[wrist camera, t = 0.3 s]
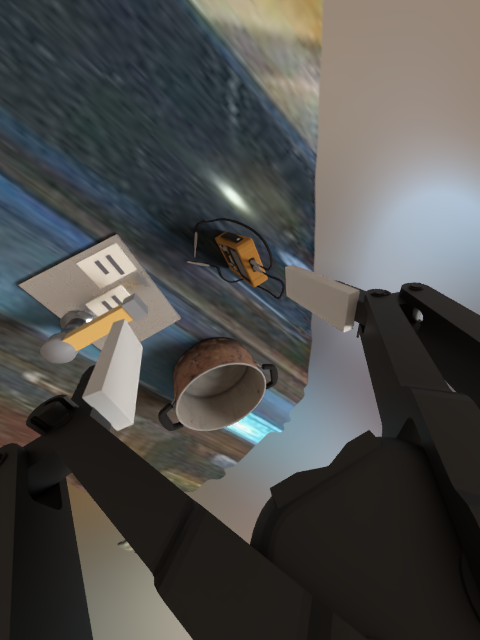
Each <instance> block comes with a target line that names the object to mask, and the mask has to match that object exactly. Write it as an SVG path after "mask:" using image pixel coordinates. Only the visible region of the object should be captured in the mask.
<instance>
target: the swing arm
mask: <svg viewBox="0 0 480 640" xmlns="http://www.w3.org/2000/svg"><path fill="white" fill-rule="evenodd" d="M147 315H148V307H147V306H146V304H145V303H144V302H143V301H142V300H141V299H140V297H139V296H138V295H137V294H136V293H134V294H132V295H130V296H128V297H126V298H125V299H124V300H123V303H122V304H120V305H118V306H117V307H115V308H113V309H111V310H109V311H107V312H106V313H104V314H102V315H100V316H98V317H97V318H95V319H93V320H91V321H89V322H87V323H86V324H84V325H82V326H80V327H78V328H77V329H75V330H73V331H71V332H69V333H57V334H54V335H52V336H51V337H50V338H49V339H48V340H47V342H46V343H45V344H44V345H43V346H42V347H41V350H40V353H41V355H42V357H43V358H44V359H46V360H47V361H50V362H53V363H66V362H69V361H71V360H73V359H74V358H75V356H76V354H77V353H78V351H79V350H80V349H82V348H84V347H85V346H87V345H89V344H91V343H93V342H94V341H96V340H98V339H100V338H101V337H103V336H105V335H107V334H109V332H110V330H111V327H112V325H113V322H116V321H119V320H122V319H125V320H126V321H127V323H128V322H130V321H132V320H135V321H138V320H140V319H142V318H144V317H145V316H147Z"/></svg>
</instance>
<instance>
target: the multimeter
mask: <svg viewBox="0 0 480 640" xmlns="http://www.w3.org/2000/svg"><path fill="white" fill-rule="evenodd" d="M218 220H225V221H231V222H234V223H237V224H240V225H242V226H244V227H246V228H248V229H249V230H251V231H252V232H254V233H255V234H256V235H257V236H258V237H259V238H260V239H261V240H262V241H263V242H264V244H265V246H266V248H267V250H268V252H269V256H270V261H271V264H270V267H269V268H268V269H267V268H265V267H263V265H262V263H261V260H260V258H259V255H258V253H257V250H256V248H255V245H254V242H253V240H252V239H251V238H248V237H245V236H241V235H238V234H234V233H230V232H226V231H225V232H224V233H222V234H221V235H219V236H217V237H216V238H215V240H216V242H217V244H218V246H219V248H220V250H221V252H222V254H223V256H224V257H225V259H226V261H227V263H228V265H229V267H230V269H231V270H233V271H234V272H235V273H236V274H238V275H239V276H240V277H241V278H243V279H241V280H245V281H246V282H248V283H249V284H250V285H252V286H253V287H256V286H257V287H259V288H261V289H263V290H265V291H267V292H269V293H270V294H271V295H272V296H274V297H275V298H276V299H280V298H281V297H282V295H283V292H284V289H285V286H284V283H283V281H282V280H280V279H278V278H276V277H273V276H270V275H268V274H266V273H265V270H267V271H269V270H270V269H271V268H272V265H273V259H272V255H271V251H270V249H269V247H268V245H267V243H266V241H265V240H264V239H263V238H262V236H261V235H260V234H259V233H257V232H256V231H255V230H254V229H252V228H250V227H249V226H247V225H245V224H243V223H241V222H238V221H235V220H231V219H226V218H220V219H215V220H210V221H204V222H200V223H198V224H197V226H196V232H195V241H194V247H195V254H196V248H197V228H198V225H199V224H201V223H207V222H213V221H218ZM194 256H195V255H194ZM188 263H194V262H188ZM194 264H196V265H202V266H212V267H217V266H213V265H208V264H204V263H198V262H196V263H194ZM217 268H218V269H219V271H220V268H219V267H217ZM264 269H265V270H264ZM220 275H221V271H220ZM267 276H268V277H270V278H273V279H276V280H278V281H280V282H281V283H282V285H283V289H282V292H281V294H280V296H279V297H276V296H275V295H274V294H272V293H271V292H270V291H268V290H266V289H264V288H262V287H260V286H258V285H259V284H261V283H262V282H264V281H266V280H267ZM221 277H222V275H221ZM222 278H223V277H222ZM223 279H224V278H223ZM224 280H225V281H227V280H226V279H224ZM241 280H238V281H241ZM238 281H233V282H230V281H227V282H230V283H234V282H238Z"/></svg>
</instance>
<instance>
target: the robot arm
mask: <svg viewBox="0 0 480 640" xmlns="http://www.w3.org/2000/svg"><path fill="white" fill-rule="evenodd" d="M285 271H286V291H287V296H288V297H289V298H291V299H292V300H294V301H295V302H297V303H298V304H300V305H302V306H303V307H305V308H306V309H308V310H309V311H311V312H312V313H314V314H316V315H317V316H319V317H320V318H322V319H323V320H325V321H326V322H328V323H329V324H331V325H332V326H334V327H336V328H337V329H339V330H340V331H342V332H346V331H349V330H351V329H353V326H354V321H356V322H358V323H359V327H358V332H357V338H358V337H359V335H360V337H361V341H362V345H363V349H364V353H365V357H366V361H367V365H368V369H369V373H370V377H371V381H372V385H373V389H374V393H375V397H376V402H377V406H378V410H379V414H380V418H381V422H382V437H375V436H374V435H373V434H372V433H371V431H370V430H369V431H367V432H365V433H363V434H362V435H360V436H358V437H357V438H355V439H353V440H351V441H350V442H348V443H347V444H346V445H345V446H344V448H343V449H342V450H341V451H340V453H339V454H338V455H337V456H336V458H335V459H334V460H333V462H332V463H331V464H330V465H329V466H327V467H322V468H317V469H312V470H308V471H302V472H297V473H295V474H293V475H292V476H290V477H288V478H287V479H285V480H283V481H282V482H280V483H278V484H276V485H275V486H273V487H271V488H270V491H271V494H272V497H271V498H270V499H269V500H268V501H267V503H266V504H265V506H264V507H263V509H262V511H261V513H260V515H259V517H258V519H257V521H256V524H255V527H254V530H253V534H252V538H251V542H250V545H249V544H248V543H247V542H245V541H244V540H243V539H242V538H241V537H239V536H238V535H237V534H236V533H235V532H233V531H232V530H231V529H230V528H228V527H227V526H226V525H225V524H223V523H222V522H221V521H220V520H218V519H217V518H216V517H215V516H214V515H212V514H211V513H210V512H209V511H207V510H206V509H205V508H204V507H202V506H201V505H200V504H198V503H197V502H196V501H194V500H193V499H192V498H190V497H189V496H188V495H187V494H185V493H184V492H183V491H182V490H181V489H179V488H178V487H177V486H176V485H174V484H173V483H172V482H171V481H170V480H168V479H167V478H166V477H165V476H163V475H162V474H161V473H160V472H158V471H157V470H156V469H155V468H154V467H152V466H151V465H150V464H149V463H147V462H146V461H145V460H144V459H143V458H141V457H140V456H139V455H138V454H136V453H135V452H134V451H133V450H132V449H130V448H129V447H128V446H127V445H125V444H124V443H123V442H122V441H120V440H119V439H118V438H117V437H116V436H114V435H113V434H112V433H111V432H109V431H110V427H111V425H112V426H113V427H114V428H115V429H116V430H117V431H118V430H121V429H123V428H125V427H127V426H130V425H132V424H133V423H134V415H135V407H136V399H137V390H138V382H139V374H140V366H141V358H142V349H143V347H142V345H141V344H140V342H139V340H138V339H137V337H136V336H135V334H134V332H133V331H132V329H131V328H130V326H129V324H128V323H127V321H126V320H125V319H122V320H119V321H116V322H113V325H112V327H111V330H110V332H109V334H108V337H107V339H106V341H105V344H104V346H103V349H102V351H101V353H100V356H99V358H98V361H97V363H96V365H94V366H91V367H89V368H88V369H87V371H86V372H85V373H84V374H83V375H82V377H81V379H80V383H79V384H78V386H77V389H76V390H75V392H74V394H73V396H72V398H71V399H70V398H69V397H68V396H66V395H58V396H55V397H53V398H50V399H48V400H47V401H45V402H44V403H42V404H41V405H40V406H38V407H37V408H36V409H35V410H34V411H33V412H32V413H31V414H30V415H29V417H28V419H27V421H26V425H27V426H28V427H30V428H31V429H33V430H34V431H36V432H37V433H39V434H40V435H42V436H40V437H38V438H37V439H35V440H34V441H32V442H30V443H29V444H27V445H25V446H24V447H21V446H19V445H17V444H14V443H11V444H7V445H4V446H3V447H1V448H0V640H93V637H92V630H91V624H90V618H89V613H88V607H87V601H86V595H85V589H84V583H83V577H82V571H81V565H80V559H79V553H78V547H77V541H76V535H75V529H74V523H73V517H72V511H71V505H70V499H69V493H68V487H67V481H66V476H68V475H69V474H70V473H73V474H74V475H75V477H76V478H77V479H78V480H79V482H80V483H81V484H82V485H83V487H84V488H85V489H86V490H87V492H88V493H89V494H90V496H91V497H92V498H93V499H94V501H95V502H96V503H97V504H98V505H99V507H100V508H101V509H102V511H103V512H104V513H105V514H106V516H107V517H108V518H109V519H110V520H111V522H112V523H113V524H114V526H115V527H116V528H117V529H118V531H119V532H120V533H121V534H122V536H123V537H124V538H125V539H126V541H127V542H128V543H129V544H130V546H131V547H132V548H133V549H134V551H135V552H136V553H137V554H138V556H139V557H140V558H141V559H142V561H143V562H144V563H145V564H146V566H147V567H148V568H149V569H150V571H151V572H152V574H153V576H154V585H155V587H156V589H157V592H158V593H159V595H160V596H161V598H162V599H163V601H164V602H165V603H166V605H167V606H168V607H169V609H170V610H171V611H172V612H173V614H174V615H175V617H176V618H177V619H178V620H179V622H180V623H181V624H182V626H183V627H184V628H185V630H186V631H187V632H188V634H189V635H190V636H191V638H192V639H193V640H480V315H478V314H476V313H475V312H473V311H471V310H469V309H468V308H466V307H464V306H462V305H461V304H459V303H457V302H455V301H454V300H452V299H450V298H448V297H446V296H445V295H443V294H441V293H440V292H438V291H436V290H434V289H433V288H431V287H429V286H427V285H424V284H421V283H407V284H404V285H402V287H401V290H400V292H397V293H390V292H389V291H386V290H382V289H371V290H368V291H364V290H361V289H358V288H356V287H353V286H350V285H348V284H345V283H343V282H340V281H335V280H331V279H329V278H326V277H324V276H321V275H318V274H316V273H313V272H311V271H308V270H305V269H303V268H300V267H298V266H295V265H291V266H288V267H285ZM421 313H422V315H423V321H421V320H420V319H419V317H420V315H421ZM445 381H446V382H447V383H448V384H449V385H450V386H451V387H452V388H453V389H454V390H455V391H456V392H452V391H451V389H450V388H449V386H448V385H447V383H446V382H445Z"/></svg>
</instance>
